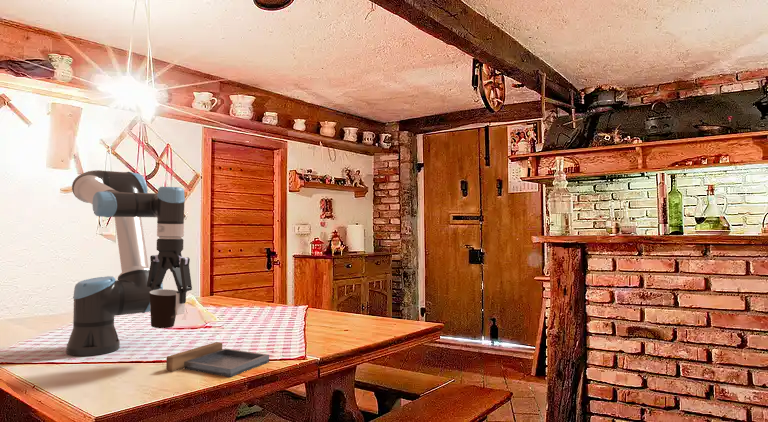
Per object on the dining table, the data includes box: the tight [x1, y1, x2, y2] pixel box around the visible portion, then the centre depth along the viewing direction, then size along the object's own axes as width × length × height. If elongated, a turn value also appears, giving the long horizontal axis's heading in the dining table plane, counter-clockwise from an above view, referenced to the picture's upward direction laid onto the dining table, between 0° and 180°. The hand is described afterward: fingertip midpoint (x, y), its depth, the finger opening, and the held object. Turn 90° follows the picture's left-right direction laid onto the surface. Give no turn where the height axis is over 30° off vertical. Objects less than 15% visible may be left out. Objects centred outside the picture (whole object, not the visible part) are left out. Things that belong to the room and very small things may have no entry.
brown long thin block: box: [165, 341, 223, 373], centre depth 158 cm, size 2×20×4 cm, turn 155°
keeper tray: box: [183, 347, 270, 378], centre depth 155 cm, size 17×17×2 cm
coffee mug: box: [149, 288, 178, 329], centre depth 159 cm, size 12×9×10 cm
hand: (168, 312), depth 159 cm, fingers closed on coffee mug, 9 cm apart
